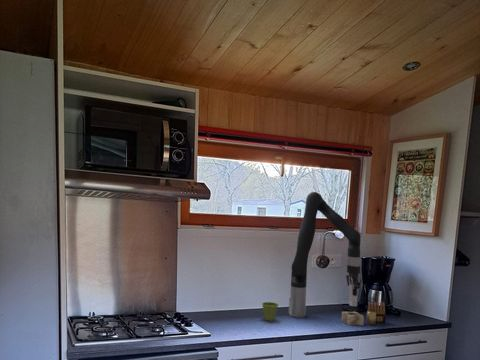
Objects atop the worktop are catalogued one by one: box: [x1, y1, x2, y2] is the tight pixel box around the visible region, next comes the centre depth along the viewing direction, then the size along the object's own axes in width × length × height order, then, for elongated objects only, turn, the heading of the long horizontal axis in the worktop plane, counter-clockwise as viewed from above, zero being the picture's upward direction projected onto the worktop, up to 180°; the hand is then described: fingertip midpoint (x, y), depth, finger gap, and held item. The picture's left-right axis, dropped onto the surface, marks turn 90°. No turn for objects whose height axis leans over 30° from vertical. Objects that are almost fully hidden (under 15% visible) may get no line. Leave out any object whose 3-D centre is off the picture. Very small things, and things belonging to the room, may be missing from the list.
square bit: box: [348, 284, 359, 307], centre depth 218 cm, size 3×3×12 cm
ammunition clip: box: [367, 301, 387, 324], centre depth 220 cm, size 11×2×12 cm, turn 95°
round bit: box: [366, 310, 377, 326], centre depth 216 cm, size 5×5×7 cm
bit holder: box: [341, 311, 365, 326], centre depth 217 cm, size 9×9×5 cm
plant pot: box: [261, 301, 279, 322], centre depth 215 cm, size 9×9×9 cm
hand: (353, 294), depth 218 cm, fingers closed on square bit, 3 cm apart
